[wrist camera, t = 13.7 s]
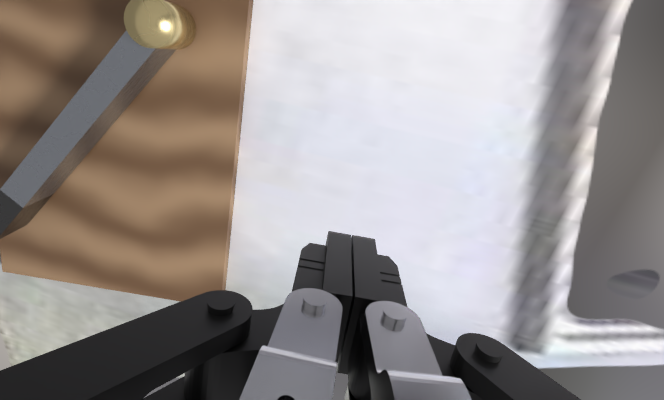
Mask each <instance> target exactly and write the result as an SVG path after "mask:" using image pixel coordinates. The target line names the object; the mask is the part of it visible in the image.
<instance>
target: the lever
mask: <svg viewBox="0 0 664 400" xmlns="http://www.w3.org/2000/svg"><path fill="white" fill-rule="evenodd" d="M124 24H125V28H126V31H125V33H124V34H123V35H122V36H121V38H120V39H119V40H118V41H117V43H116V44H115V45H114V46H113V48H112V49H111V50H110V51H109V53H108V54H107V55H106V56H105V58H104V59H103V60H102V61H101V63H100V64H99V65H98V67H97V68H96V69H95V70H94V72H93V73H92V74H91V75H90V77H89V78H88V79H87V80H86V82H85V83H84V84H83V85H82V87H81V88H80V89H79V90H78V92H77V93H76V94H75V95H74V97H73V98H72V99H71V101H70V102H69V103H68V104H67V106H66V107H65V108H64V109H63V111H62V112H61V113H60V114H59V116H58V117H57V118H56V119H55V121H54V122H53V123H52V124H51V126H50V127H49V128H48V129H47V131H46V132H45V133H44V135H43V136H42V137H41V138H40V140H39V141H38V142H37V143H36V145H35V146H34V147H33V148H32V150H31V151H30V152H29V153H28V155H27V156H26V157H25V158H24V160H23V161H22V162H21V164H20V165H19V166H18V167H17V169H16V170H15V171H14V172H13V174H12V175H11V176H10V177H9V179H8V180H7V181H6V182H5V184H4V185H3V186H2V187H1V189H0V239H1V238H3V237H5V236H7V235H9V234H11V233H13V232H15V231H16V230H18V229H20V228H22V227H24V226H26V225H28V223H29V222H30V221H31V220H32V219H33V217H34V216H35V215H36V214H37V213H38V212H39V210H40V209H41V208H42V207H43V206H44V205H45V203H46V202H47V201H48V200H49V199H50V198H51V196H52V195H53V194H54V193H55V192H56V190H57V189H58V188H59V187H60V186H61V185H62V183H63V182H64V181H65V180H66V179H67V178H68V176H69V175H70V174H71V173H72V172H73V171H74V169H75V168H76V167H77V166H78V165H79V163H80V162H81V161H82V160H83V159H84V158H85V156H86V155H87V154H88V153H89V152H90V151H91V149H92V148H93V147H94V146H95V145H96V143H97V142H98V141H99V140H100V139H101V138H102V136H103V135H104V134H105V133H106V132H107V131H108V129H109V128H110V127H111V126H112V125H113V124H114V122H115V121H116V120H117V119H118V118H119V116H120V115H121V114H122V113H123V112H124V111H125V109H126V108H127V107H128V106H129V105H130V104H131V102H132V101H133V100H134V99H135V98H136V96H137V95H138V94H139V93H140V92H141V91H142V89H143V88H144V87H145V86H146V85H147V84H148V82H149V81H150V80H151V79H152V78H153V77H154V75H155V74H156V73H157V72H158V71H159V69H160V68H161V67H162V66H163V65H164V64H165V62H166V61H167V60H168V59H169V58H170V57H171V55H172V54H173V53H174V52H175V51H176V50H180V49H184V48H187V47H188V46H190V45H191V43H192V42H193V41H194V39H195V36H196V24H195V21H194V18H193V16H192V15H191V13H190V12H189V11H188V10H187V9H185V8H184V7H182V6H180V5H177V4H174V3H171V2H168V1H165V0H131V1H130V2H129V3H128V4H127V6H126V8H125V11H124Z"/></svg>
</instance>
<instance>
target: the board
mask: <svg viewBox="0 0 664 400" xmlns="http://www.w3.org/2000/svg"><path fill="white" fill-rule="evenodd" d="M130 1H131V0H0V189H1V187H2V186H3V185H4V184H5V182H6V181H7V180H8V179H9V177H10V176H11V175H12V174H13V172H14V171H15V170H16V169H17V167H18V166H19V165H20V164H21V162H22V161H23V160H24V158H25V157H26V156H27V155H28V153H29V152H30V151H31V150H32V148H33V147H34V146H35V145H36V143H37V142H38V141H39V140H40V138H41V137H42V136H43V135H44V133H45V132H46V131H47V129H48V128H49V127H50V126H51V124H52V123H53V122H54V121H55V119H56V118H57V117H58V116H59V114H60V113H61V112H62V111H63V109H64V108H65V107H66V106H67V104H68V103H69V102H70V101H71V99H72V98H73V97H74V95H75V94H76V93H77V92H78V90H79V89H80V88H81V87H82V85H83V84H84V83H85V82H86V80H87V79H88V78H89V77H90V75H91V74H92V73H93V72H94V70H95V69H96V68H97V67H98V65H99V64H100V63H101V61H102V60H103V59H104V58H105V56H106V55H107V54H108V53H109V51H110V50H111V49H112V48H113V46H114V45H115V44H116V43H117V41H118V40H119V39H120V38H121V36H122V35H123V34H124V33H125V31H126V28H125V24H124V11H125V8H126V6H127V4H128V3H129V2H130ZM165 1H168V2H171V3H174V4H177V5H180V6H182V7H184V8H185V9H187V10H188V11H189V12H190V13H191V15H192V16H193V18H194V21H195V24H196V36H195V39H194V41H193V42H192V43H191V45H190V46H188V47H187V48H184V49H180V50H176V51H175V52H174V53H173V54H172V55H171V57H170V58H169V59H168V60H167V61H166V62H165V64H164V65H163V66H162V67H161V68H160V69H159V71H158V72H157V73H156V74H155V75H154V77H153V78H152V79H151V80H150V81H149V82H148V84H147V85H146V86H145V87H144V88H143V89H142V91H141V92H140V93H139V94H138V95H137V96H136V98H135V99H134V100H133V101H132V102H131V104H130V105H129V106H128V107H127V108H126V109H125V111H124V112H123V113H122V114H121V115H120V116H119V118H118V119H117V120H116V121H115V122H114V124H113V125H112V126H111V127H110V128H109V129H108V131H107V132H106V133H105V134H104V135H103V136H102V138H101V139H100V140H99V141H98V142H97V143H96V145H95V146H94V147H93V148H92V149H91V151H90V152H89V153H88V154H87V155H86V156H85V158H84V159H83V160H82V161H81V162H80V163H79V165H78V166H77V167H76V168H75V169H74V171H73V172H72V173H71V174H70V175H69V176H68V178H67V179H66V180H65V181H64V182H63V183H62V185H61V186H60V187H59V188H58V189H57V190H56V192H55V193H54V194H53V195H52V196H51V198H50V199H49V200H48V201H47V202H46V203H45V205H44V206H43V207H42V208H41V209H40V210H39V212H38V213H37V214H36V215H35V216H34V217H33V219H32V220H31V221H30V222H29V223H28V225H26V226H24V227H22V228H20V229H18V230H16V231H15V232H13V233H11V234H9V235H7V236H5V237H3V238H1V239H0V254H1V262H2V270H3V272H9V273H15V274H21V275H27V276H33V277H39V278H45V279H51V280H57V281H63V282H69V283H75V284H80V285H86V286H92V287H98V288H104V289H110V290H116V291H122V292H128V293H134V294H140V295H146V296H152V297H158V298H164V299H170V300H176V301H184V300H187V299H189V298H192V297H194V296H197V295H200V294H202V293H205V292H209V291H216V290H225V287H226V277H227V267H228V256H229V246H230V235H231V225H232V215H233V204H234V194H235V184H236V173H237V163H238V153H239V142H240V132H241V122H242V111H243V101H244V90H245V80H246V70H247V59H248V49H249V39H250V28H251V18H252V8H253V0H165Z"/></svg>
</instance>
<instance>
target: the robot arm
mask: <svg viewBox="0 0 664 400" xmlns="http://www.w3.org/2000/svg"><path fill="white" fill-rule="evenodd" d="M337 363H338V373H344V374H348V386H347V389H346V394H345V398H344V400H580V399H579V398H578V397H576V396H575V395H574V394H572V393H571V392H569V391H568V390H566V389H565V388H564V387H562V386H561V385H560V384H558V383H557V382H555V381H554V380H553V379H551V378H550V377H548V376H547V375H545V374H544V373H543V372H541V371H540V370H538V369H537V368H536V367H534V366H533V365H531V364H530V363H529V362H527V361H526V360H524V359H523V358H522V357H520V356H519V355H517V354H516V353H515V352H513V351H512V350H510V349H509V348H508V347H506V346H505V345H503V344H502V343H500V342H499V341H497V340H495V339H493V338H490V337H488V336H485V335H481V334H476V333H467V334H463V335H461V336H460V337H459V338H458V339H457V342H456V345H452V344H450V343H447V342H444V341H442V340H439V339H437V338H434V337H432V336H430V335H428V334H427V333H426V332H425V330H424V327H423V325H422V322H421V320H420V318H419V317H418V315H417V314H416V313H415V312H413V311H412V310H411V309H409V308H407V304H406V300H405V296H404V292H403V288H402V285H401V280H400V277H399V271H398V267H397V265H396V264H395V263H394V262H393V261H392V260H391V259H390V257H388V256H383V255H377V250H376V244H375V239H371V238H366V237H360V236H354V235H352V237H351V235H348V234H342V233H337V232H331V231H329V232H328V236H327V241H326V246H325V245H319V244H313V243H309V244H308V245H307V246H305V247H304V248H303V249H302V250H301V255H300V259H299V263H298V268H297V272H296V276H295V280H294V285H293V289H292V292H291V293H290V294H289V295H288V296H287V298H286V300H285V302H284V304H282V305H280V306H278V307H275V308H271V309H264V310H252V305H251V303H250V301H249V300H248V299H247V298H246V297H244V296H243V295H241V294H239V293H236V292H232V291H226V290H216V291H209V292H205V293H202V294H200V295H197V296H194V297H192V298H189V299H187V300H184V301H181V302H179V303H176V304H174V305H171V306H168V307H166V308H163V309H160V310H158V311H155V312H153V313H150V314H147V315H145V316H142V317H140V318H137V319H134V320H132V321H129V322H126V323H124V324H121V325H119V326H116V327H113V328H111V329H108V330H106V331H103V332H100V333H98V334H95V335H92V336H90V337H87V338H85V339H82V340H79V341H77V342H74V343H72V344H69V345H66V346H64V347H61V348H58V349H56V350H53V351H51V352H48V353H45V354H43V355H40V356H38V357H35V358H32V359H30V360H27V361H24V362H22V363H19V364H17V365H14V366H11V367H9V368H6V369H4V370H1V371H0V400H332V399H333V392H334V384H335V377H336V369H337ZM183 373H185V376H184V377H182V378H180V379H179V380H177V381H175V382H173V383H171V384H169V385H168V386H166V387H164V388H162V389H160V390H158V391H157V392H155V393H153V394H151V395H149V396H147V397H145V396H146V395H147V394H148V393H149V392H151V391H152V390H154V389H155V388H157V387H159V386H161V385H163V384H164V383H166V382H168V381H170V380H172V379H174V378H176V377H178V376H180V375H181V374H183ZM144 397H145V398H144Z"/></svg>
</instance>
